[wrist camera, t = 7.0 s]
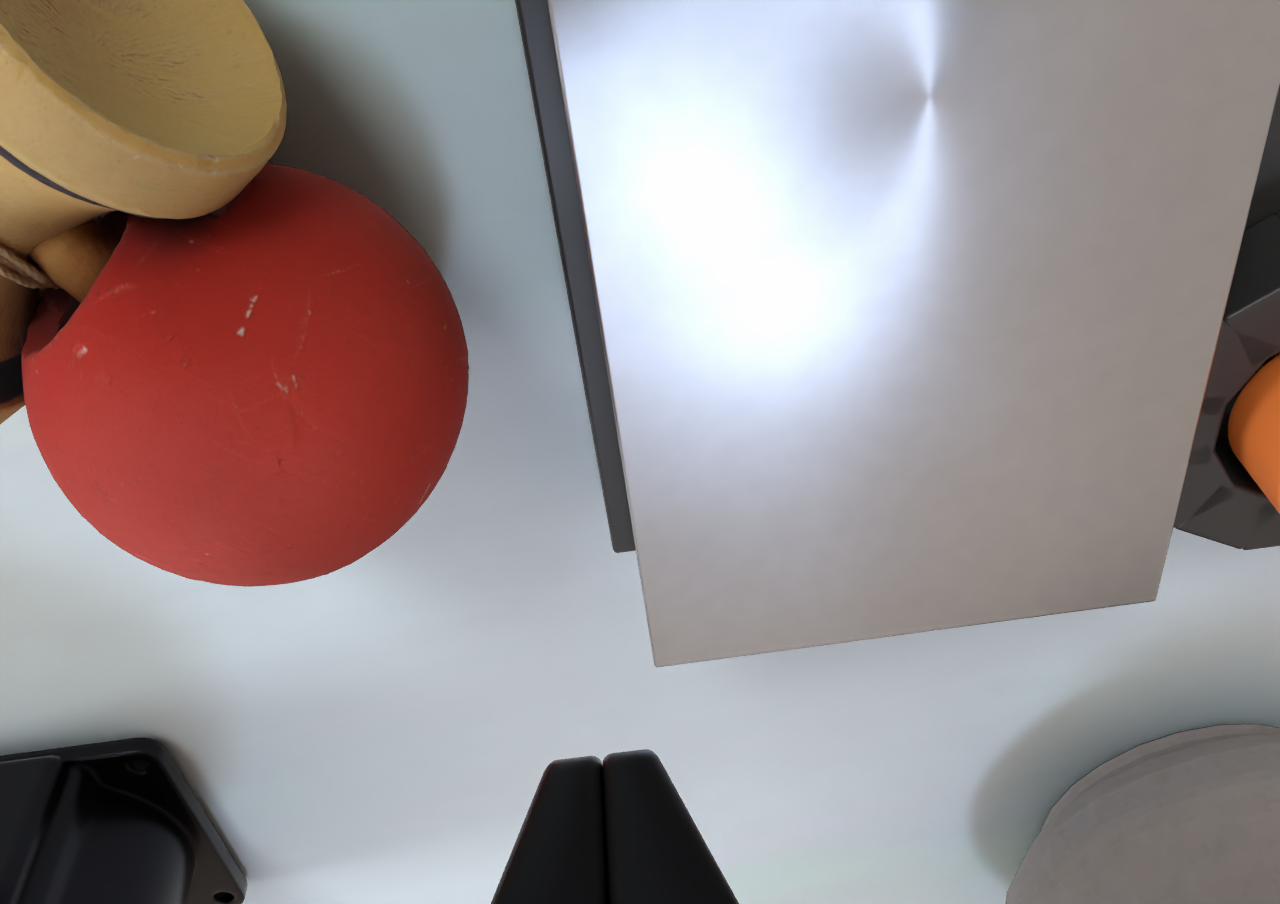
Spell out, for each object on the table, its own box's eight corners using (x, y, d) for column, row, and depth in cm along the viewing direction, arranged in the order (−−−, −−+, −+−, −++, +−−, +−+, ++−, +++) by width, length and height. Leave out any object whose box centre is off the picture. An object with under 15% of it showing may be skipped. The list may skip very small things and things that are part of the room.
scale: (1359, 421, 23) (1453, 523, 21) (612, 522, 23) (622, 635, 21) (1884, -1072, 11) (2235, -1226, 9) (373, -844, 11) (335, -934, 9)
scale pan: (1147, 586, 21) (1156, 601, 21) (652, 651, 21) (654, 668, 21) (1593, -1343, 8) (1634, -1378, 8) (363, -1154, 9) (357, -1176, 8)
